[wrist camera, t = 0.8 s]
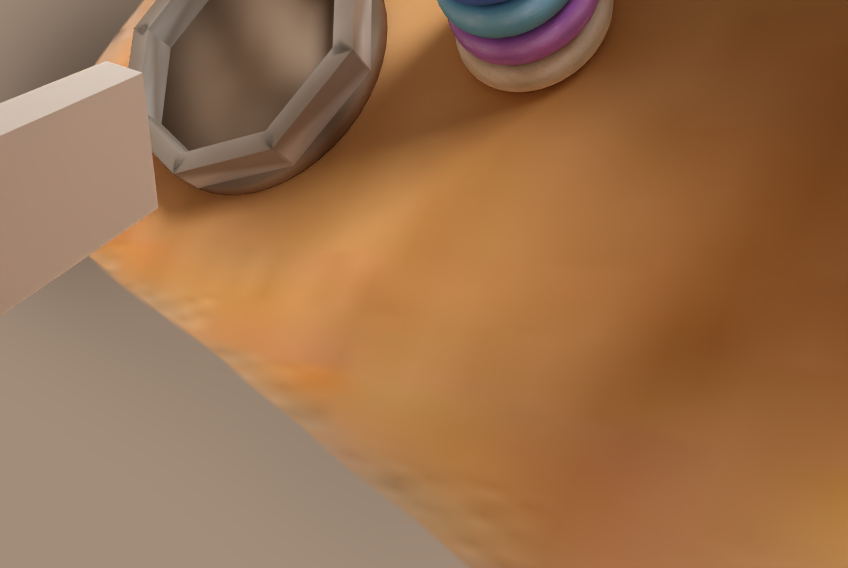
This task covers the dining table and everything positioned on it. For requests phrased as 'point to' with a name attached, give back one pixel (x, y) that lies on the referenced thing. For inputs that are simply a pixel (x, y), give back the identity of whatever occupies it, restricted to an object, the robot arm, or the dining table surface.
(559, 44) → the stacking toy
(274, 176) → the plate
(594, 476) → the dining table surface
